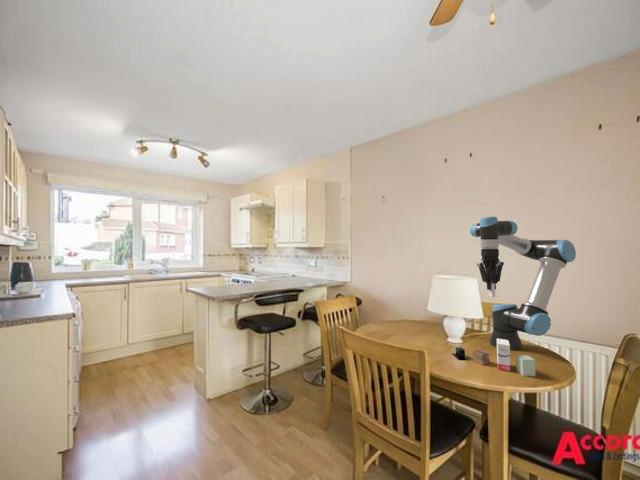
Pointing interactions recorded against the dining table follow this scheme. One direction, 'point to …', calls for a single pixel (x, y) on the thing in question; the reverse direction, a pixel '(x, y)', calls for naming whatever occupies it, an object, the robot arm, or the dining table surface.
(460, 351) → the black bracket plate
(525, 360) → the sage block
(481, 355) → the walnut cube
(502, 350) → the ink box
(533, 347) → the dining table surface
